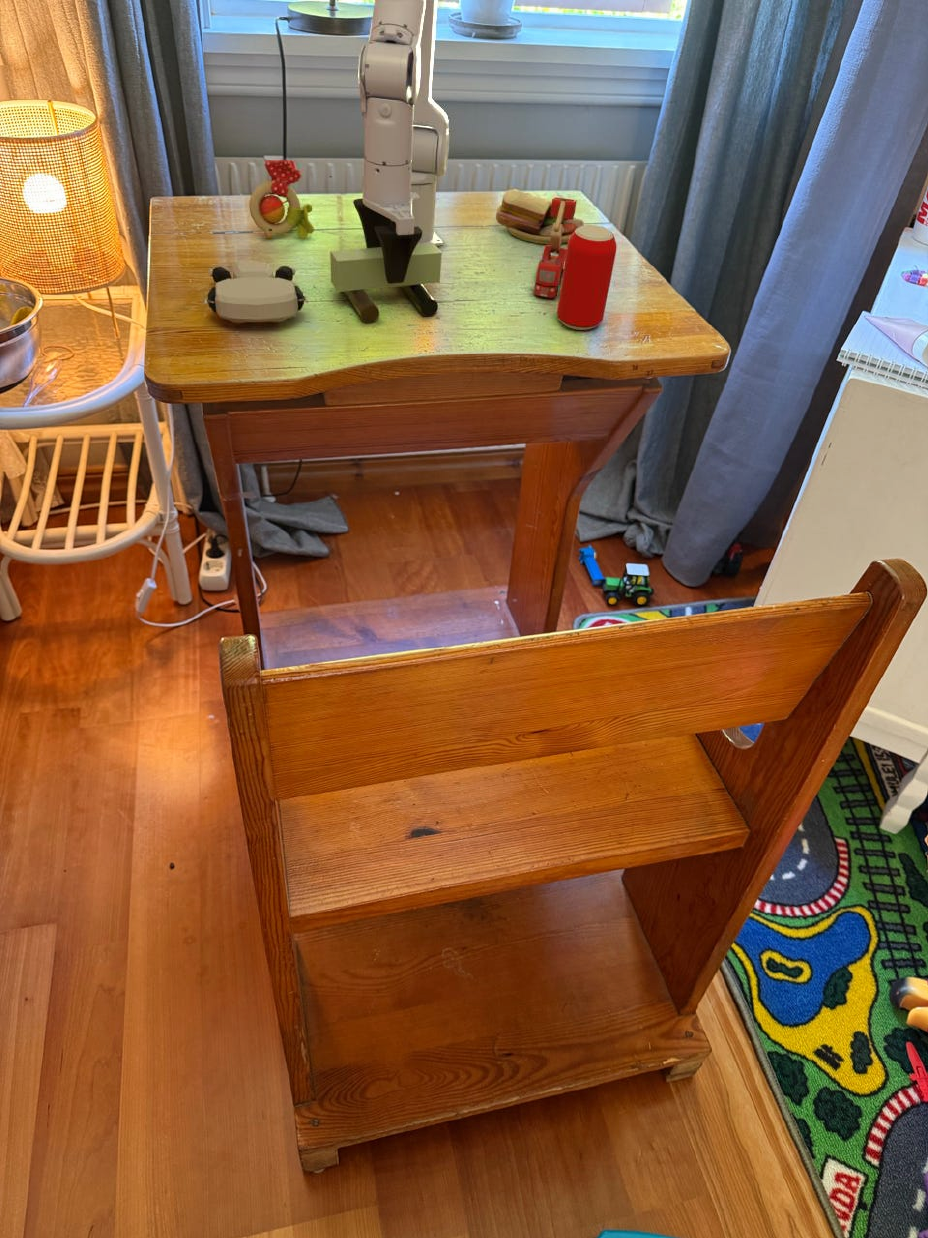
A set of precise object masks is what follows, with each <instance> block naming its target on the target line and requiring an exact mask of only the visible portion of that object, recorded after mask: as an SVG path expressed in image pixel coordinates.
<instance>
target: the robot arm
mask: <svg viewBox="0 0 928 1238" xmlns="http://www.w3.org/2000/svg"><path fill="white" fill-rule="evenodd" d="M373 5H374V6H373V11H372V19H371V25H370V31H369V37H368V43H367V44H368V45H364V44H363V45H362V46H361V49H360V52H359V58H358V69H357V71H358V76H357V77H358V88H359V95H360V105H361V106H360V112H361V116H362V117H363V119H364V120H363V121H364V122H363V127H364V128H363V131H364V132H363V137H364V139H363V143H364V144H363V159H364V160H363V168H364V169H363V176H362V177H361V178H362V179H361V180H362V181H361V182H362V184H361V185H362V187H361V188H362V189H361V191H362V198H355V199H353V201H352V203H353V206H354V208H355V210H356V213H357V215H358V217H359V220H360V223H361V227H362V231H363V237H364V241H365V246H366V247H365V248H377V247H381V248H382V252H383V258H384V268H385V275H386V279H387V282H388V283H389V284H393V283H403V282H404V279H405V276H406V272H407V269H408V265H409V262H410V258H411V256H412V253H413V251H414V249H415V247H416V245H417V244H428V243H434V245H435V246H436V247H441V246H443V245H444V242H443V240H442V239H441V238H440V237H439V236H438V235H437V233H436V232H435V216H436V215H435V214H436V200H437V199H436V197H437V181H438V180H437V179H438V178H443V176H444V175H445V174H446V172H447V168H448V161H449V151H450V149H449V148H450V131H449V130H450V120H449V118H448V117H449V116H448V115H447V113H446V112H445V111H444V109H442V108H441V107H440V106H439V105H438V104H437V103H436V102H435V101H434V100H433V98H432V88H433V72H434V58H435V45H436V44H435V41H436V25H437V12H438V11H437V10H438V0H374V4H373ZM417 124H420V125H417ZM424 125H428V126H424Z"/></svg>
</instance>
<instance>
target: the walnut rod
mask: <svg viewBox="0 0 928 1238" xmlns="http://www.w3.org/2000/svg"><path fill="white" fill-rule="evenodd" d="M343 293H344V294H345V295H346V297H347V299H348V300H349V301H350V303H351V305H352V306H353V308H354V309H355V311H356V312H357V314H358V315H359V317H360V318H361V320H362V321H363V322H364V323H367V324H372V323H375V322H376V321H377V320H378V318H379V317H380V310H379V308H378V307H377V305H376V304H375V302H374V301H373V299H372V298H371V297H370V295H369V294H368V292H367V290H366V289H365V290H354V291H343Z"/></svg>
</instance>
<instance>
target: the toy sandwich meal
mask: <svg viewBox="0 0 928 1238" xmlns="http://www.w3.org/2000/svg"><path fill="white" fill-rule="evenodd" d="M551 203H552V201H550V200H547V199H545V198H541V197H539V196H535V195H533V194H531V193H530V192H529V193H528V192H523V191H521V190H519V189H515V188H514V189H513V188H512V189H509V190H507V191H505V192H504V193H503V196H502V200H501V204H500V205H499V206H498V208H497V209H496V214H495V219H496V221H497V223H498V224H499V225H502V226H504V227H505V228H506V229H507V230H508V232H509V234H511V235H513V236H514V237H516V238H518V239H520V240H522V241H525V242H529V243H534V244H539V245H551V231H552V227H553V223H556V220H557V218H556V217H550V215H551ZM561 224H562V238H561V245H562V244H566V243H568V240H569V238H570V236H571V235H572V234H573V232H574V231H575V230H576V229H577V228H578V227H580V226H583V225H585V224H584V220H582V219H580V218H576V217H575V216H574V217H573V220H571V219H563V218H562V222H561Z"/></svg>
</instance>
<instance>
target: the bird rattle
mask: <svg viewBox="0 0 928 1238" xmlns="http://www.w3.org/2000/svg"><path fill="white" fill-rule="evenodd" d="M264 168H265V170H266V172H267V174H268V175H269V176H270V179H269V180H266V181H263V182H262V183H260V184H259V185H257V186H256V187H255V189H254V190H253V191H252V193H251V195H250V199H249V208H248V209H249V213H250V215H251V218H252V219H253V222H254V224H255V225H256V226H257V227H258V229H260V230H261V231H262V232H263V234H264V237H265V238H266V239H271V238H272V237H273V236H278V235H283V234H287V232H292V231H293V230H295V229H296V232H297V236H298V238H300V239H303V240H304V239H306V238H307V237H308V235H309V234H310V235H312V234H313V233H314V232H315V228H314V226H313V224H312V223H311V221H310V220H309V213H312V212H313V206H312V205H311V204H309V203H306V204H304V205H303V206H301V203H300V199H299V197H298V196H297V195H298V194H297V193H296V192H295V190H294V188H292V187H291V186H290V185H291V184H295V183H298V182H299V181H300V179H301V178H302V173H301V171H300V170H299V169H296V165H295V162H294V160H287V159H286V158H283V159H280V160H267V161H265V162H264ZM280 197H281V198H285V199H286V200H285V201H283V200H282V199H281V198H280ZM286 203H288V206H287V208H285V204H286ZM286 209H287V211H286ZM285 214H286V216H285ZM283 219H284V220H283Z"/></svg>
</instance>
